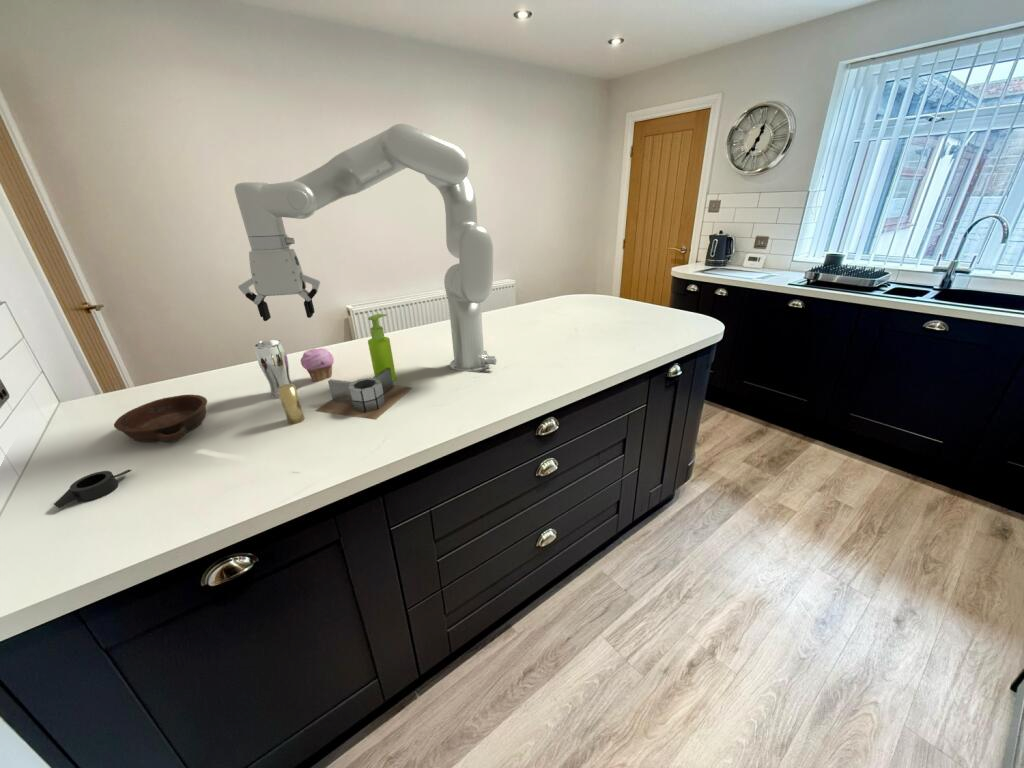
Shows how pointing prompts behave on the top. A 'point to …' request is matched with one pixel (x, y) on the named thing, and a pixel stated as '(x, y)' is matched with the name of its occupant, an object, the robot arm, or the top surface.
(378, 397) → the hinge
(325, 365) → the cupcake
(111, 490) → the black ring with arms
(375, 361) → the soap dispenser
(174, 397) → the dish
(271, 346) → the beer glass
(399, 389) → the hinge base
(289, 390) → the hinge pin
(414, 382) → the top surface
